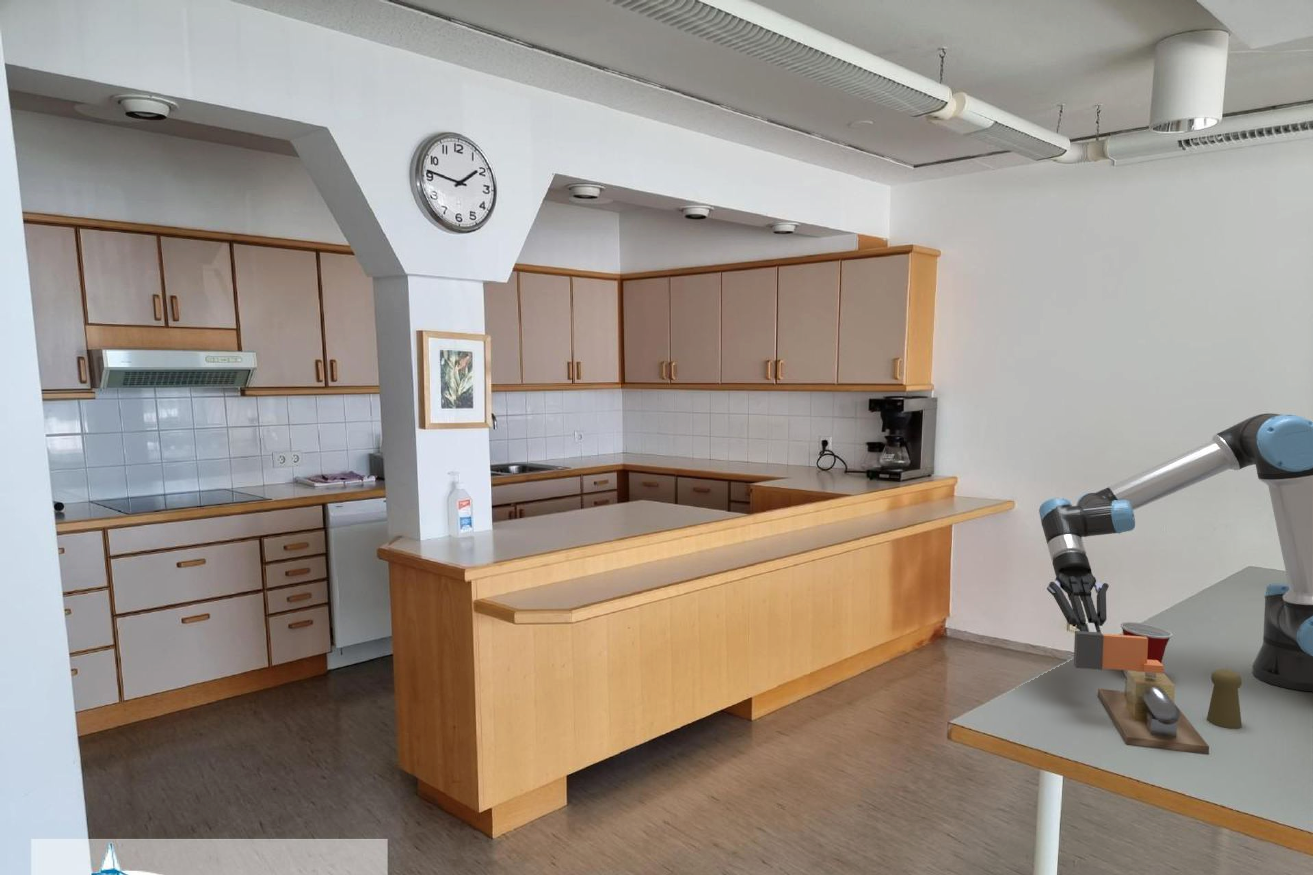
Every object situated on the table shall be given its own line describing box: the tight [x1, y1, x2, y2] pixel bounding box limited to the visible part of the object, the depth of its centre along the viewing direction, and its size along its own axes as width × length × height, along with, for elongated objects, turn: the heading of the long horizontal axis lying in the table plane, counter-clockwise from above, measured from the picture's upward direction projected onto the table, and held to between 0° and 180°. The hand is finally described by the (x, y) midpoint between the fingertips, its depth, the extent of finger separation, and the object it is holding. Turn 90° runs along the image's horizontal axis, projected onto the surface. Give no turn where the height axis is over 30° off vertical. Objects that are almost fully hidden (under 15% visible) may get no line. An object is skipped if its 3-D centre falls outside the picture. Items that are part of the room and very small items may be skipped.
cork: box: [1206, 668, 1243, 730], centre depth 169 cm, size 6×6×11 cm
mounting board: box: [1097, 688, 1210, 755], centre depth 170 cm, size 14×26×2 cm, turn 162°
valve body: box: [1123, 670, 1180, 738], centre depth 170 cm, size 7×24×8 cm, turn 162°
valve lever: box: [1073, 630, 1165, 678], centre depth 170 cm, size 16×4×8 cm, turn 76°
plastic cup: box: [1120, 621, 1173, 664], centre depth 196 cm, size 11×11×12 cm
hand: (1096, 653), depth 174 cm, fingers closed
